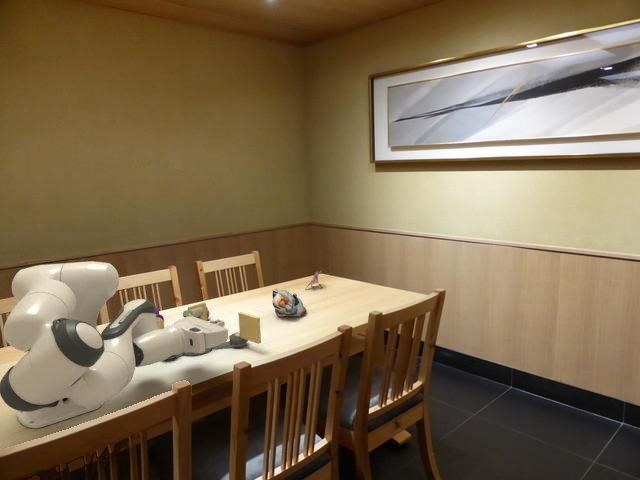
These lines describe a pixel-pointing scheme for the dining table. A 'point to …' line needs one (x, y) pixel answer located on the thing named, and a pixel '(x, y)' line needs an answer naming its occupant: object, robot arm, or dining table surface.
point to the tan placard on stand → (247, 330)
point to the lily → (315, 279)
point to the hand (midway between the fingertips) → (221, 322)
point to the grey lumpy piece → (287, 304)
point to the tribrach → (201, 313)
